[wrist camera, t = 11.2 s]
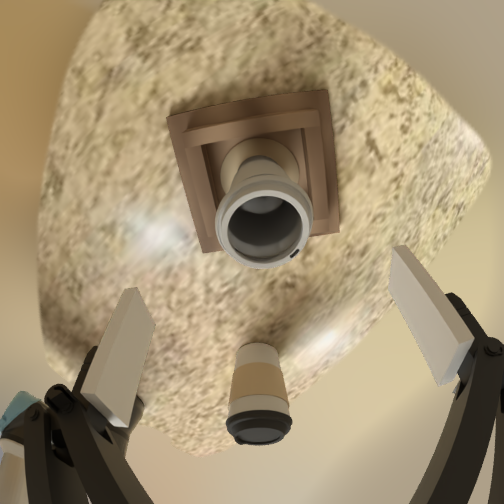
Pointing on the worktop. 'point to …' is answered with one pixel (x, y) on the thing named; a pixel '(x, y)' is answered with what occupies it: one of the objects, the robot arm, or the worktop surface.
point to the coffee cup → (258, 397)
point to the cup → (263, 215)
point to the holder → (257, 153)
